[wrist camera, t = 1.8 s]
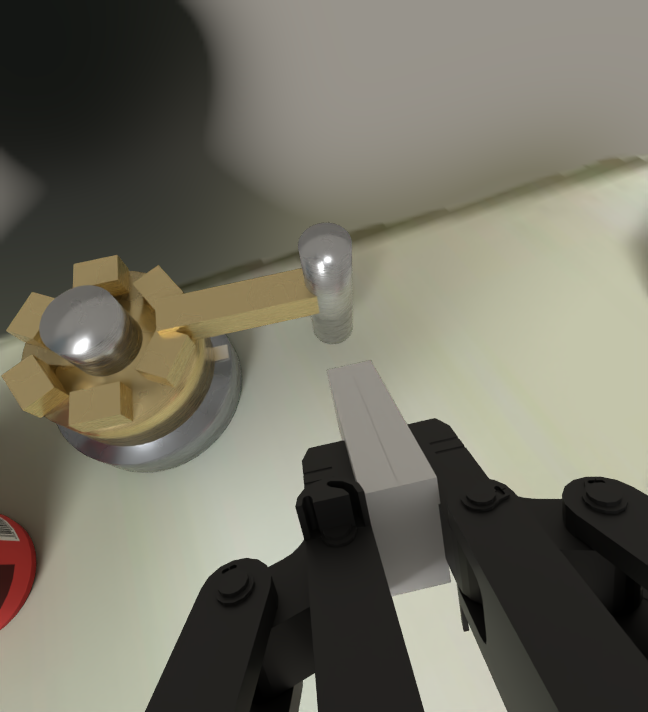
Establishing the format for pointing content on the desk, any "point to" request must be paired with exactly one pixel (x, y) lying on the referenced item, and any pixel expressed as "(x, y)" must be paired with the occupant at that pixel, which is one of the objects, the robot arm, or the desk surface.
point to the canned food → (14, 568)
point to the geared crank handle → (160, 338)
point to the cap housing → (189, 435)
